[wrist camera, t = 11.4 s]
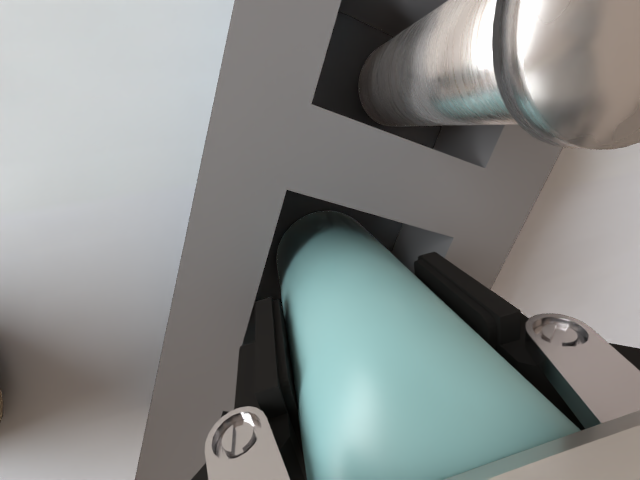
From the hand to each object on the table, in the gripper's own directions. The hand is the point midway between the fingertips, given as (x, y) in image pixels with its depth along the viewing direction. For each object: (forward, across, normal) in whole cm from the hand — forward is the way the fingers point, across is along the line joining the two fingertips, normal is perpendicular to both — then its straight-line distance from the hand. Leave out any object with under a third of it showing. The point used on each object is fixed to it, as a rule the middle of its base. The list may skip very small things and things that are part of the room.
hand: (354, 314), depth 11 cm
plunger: (+4, -4, -7) cm, 9 cm away
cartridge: (+5, 0, 0) cm, 5 cm away
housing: (+5, 0, 0) cm, 5 cm away
